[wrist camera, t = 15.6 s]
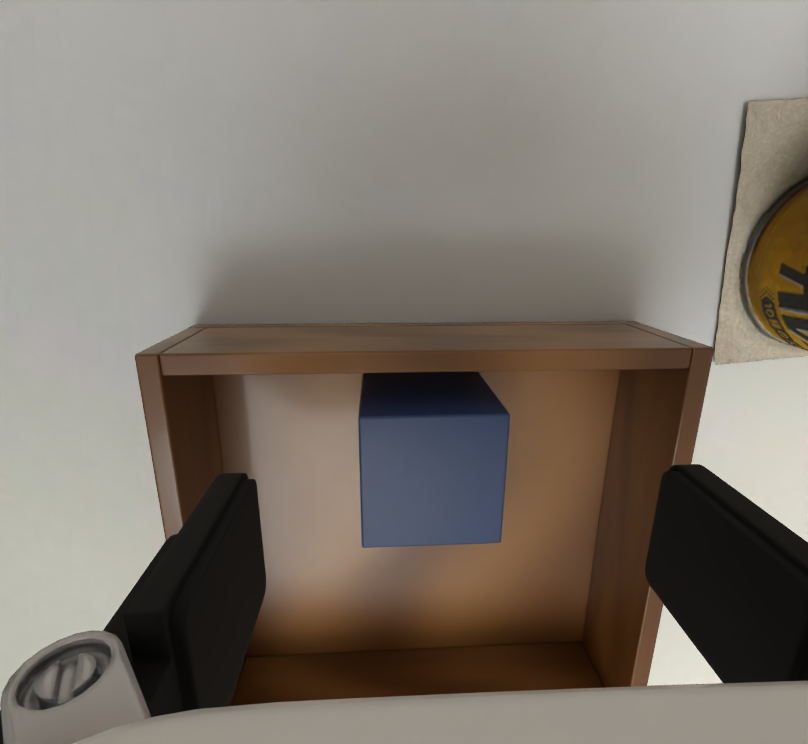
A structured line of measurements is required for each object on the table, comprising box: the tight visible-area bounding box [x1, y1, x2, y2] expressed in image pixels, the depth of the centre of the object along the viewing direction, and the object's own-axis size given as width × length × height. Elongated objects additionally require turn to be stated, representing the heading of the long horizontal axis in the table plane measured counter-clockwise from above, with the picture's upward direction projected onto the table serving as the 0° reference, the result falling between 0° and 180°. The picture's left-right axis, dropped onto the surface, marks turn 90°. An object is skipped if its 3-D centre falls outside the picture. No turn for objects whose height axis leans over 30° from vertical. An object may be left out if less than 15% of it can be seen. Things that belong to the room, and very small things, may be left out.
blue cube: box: [358, 372, 510, 548], centre depth 14 cm, size 4×4×4 cm
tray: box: [135, 321, 714, 706], centre depth 16 cm, size 15×14×4 cm
